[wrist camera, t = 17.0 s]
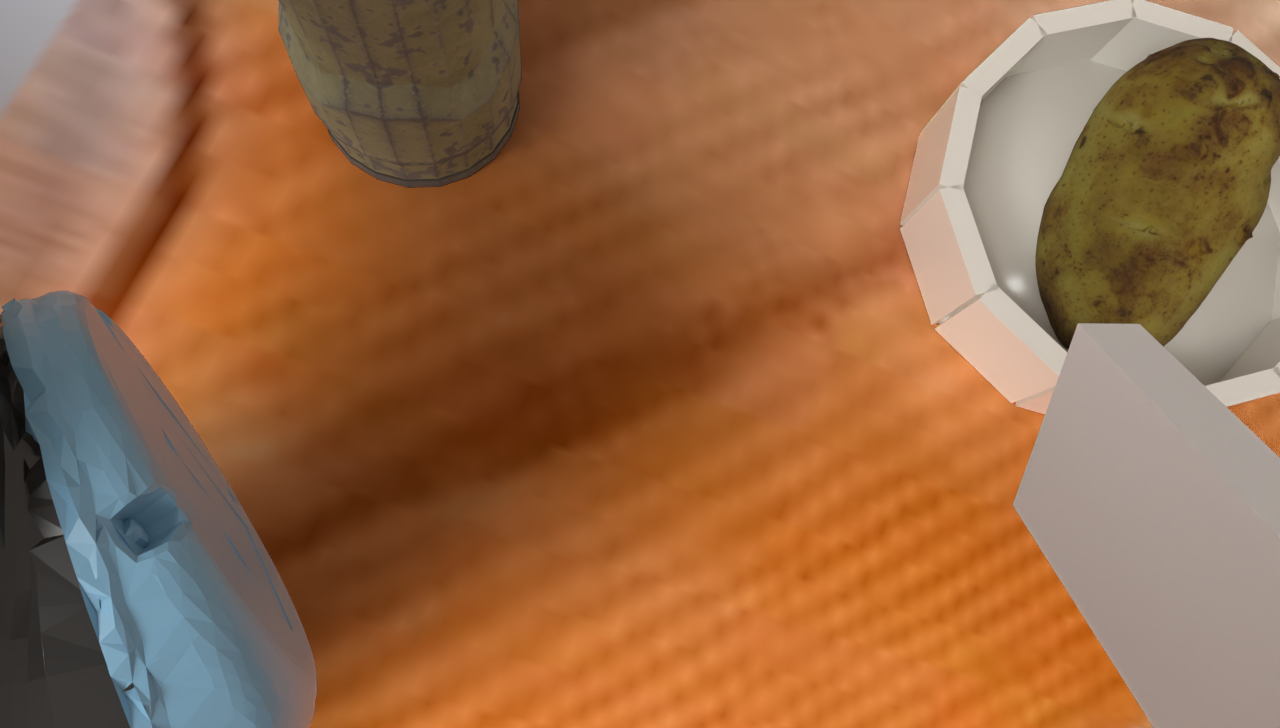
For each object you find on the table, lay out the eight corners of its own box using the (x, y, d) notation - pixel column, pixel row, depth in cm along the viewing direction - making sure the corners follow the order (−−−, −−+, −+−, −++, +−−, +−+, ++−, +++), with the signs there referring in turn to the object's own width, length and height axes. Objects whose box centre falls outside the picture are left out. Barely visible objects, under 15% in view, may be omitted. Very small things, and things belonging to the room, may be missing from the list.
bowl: (1259, 477, 42) (1340, 464, 38) (869, 363, 42) (906, 337, 38) (1299, 119, 47) (1377, 71, 42) (946, 12, 46) (988, -48, 42)
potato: (943, 277, 42) (1033, 207, 34) (1099, 80, 45) (1215, -25, 37) (1096, 400, 42) (1222, 357, 34) (1244, 192, 44) (1391, 109, 37)
